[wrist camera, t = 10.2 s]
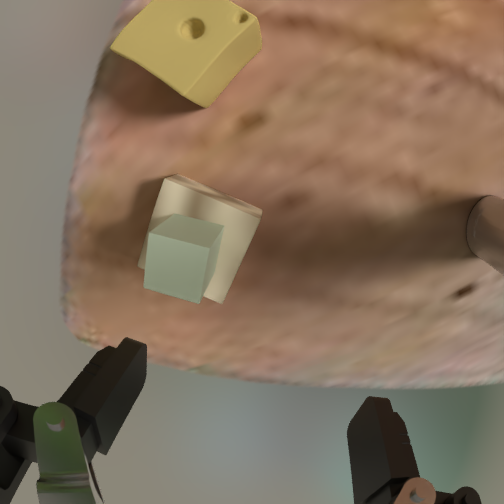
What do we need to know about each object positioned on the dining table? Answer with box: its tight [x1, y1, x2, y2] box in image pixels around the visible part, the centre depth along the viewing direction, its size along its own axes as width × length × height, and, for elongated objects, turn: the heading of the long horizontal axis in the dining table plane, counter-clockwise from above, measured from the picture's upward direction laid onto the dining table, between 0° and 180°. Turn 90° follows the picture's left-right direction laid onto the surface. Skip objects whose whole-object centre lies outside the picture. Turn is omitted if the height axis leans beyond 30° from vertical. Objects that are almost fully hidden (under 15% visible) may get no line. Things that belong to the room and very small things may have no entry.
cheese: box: [110, 0, 262, 108], centre depth 25 cm, size 10×11×10 cm
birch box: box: [137, 174, 263, 304], centre depth 35 cm, size 11×11×5 cm
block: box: [144, 214, 224, 304], centre depth 29 cm, size 6×6×7 cm
